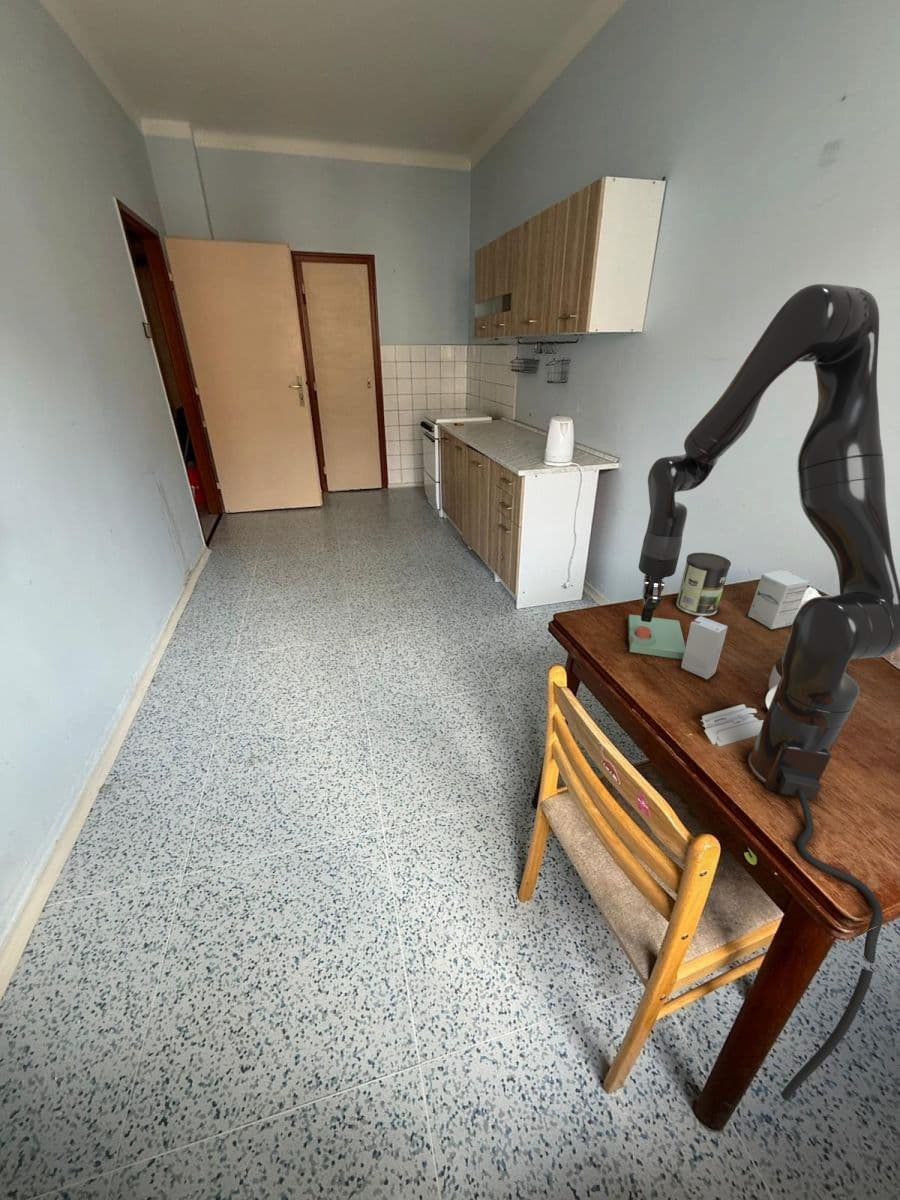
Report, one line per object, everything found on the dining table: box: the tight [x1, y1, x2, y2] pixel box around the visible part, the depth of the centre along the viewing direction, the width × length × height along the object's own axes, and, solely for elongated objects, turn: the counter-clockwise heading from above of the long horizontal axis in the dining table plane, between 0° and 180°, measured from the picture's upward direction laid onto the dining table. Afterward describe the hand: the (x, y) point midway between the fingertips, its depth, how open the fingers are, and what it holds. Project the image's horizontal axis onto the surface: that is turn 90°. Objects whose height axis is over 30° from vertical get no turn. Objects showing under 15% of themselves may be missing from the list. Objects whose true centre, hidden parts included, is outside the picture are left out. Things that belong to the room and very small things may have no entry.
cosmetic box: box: [680, 616, 729, 680], centre depth 101 cm, size 6×4×12 cm
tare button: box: [636, 626, 651, 639], centre depth 111 cm, size 3×3×2 cm
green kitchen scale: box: [627, 614, 686, 660], centre depth 115 cm, size 15×12×4 cm
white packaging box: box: [747, 569, 810, 630], centre depth 119 cm, size 7×7×13 cm
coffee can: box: [675, 552, 732, 617], centre depth 126 cm, size 10×10×14 cm
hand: (645, 620), depth 109 cm, fingers closed
